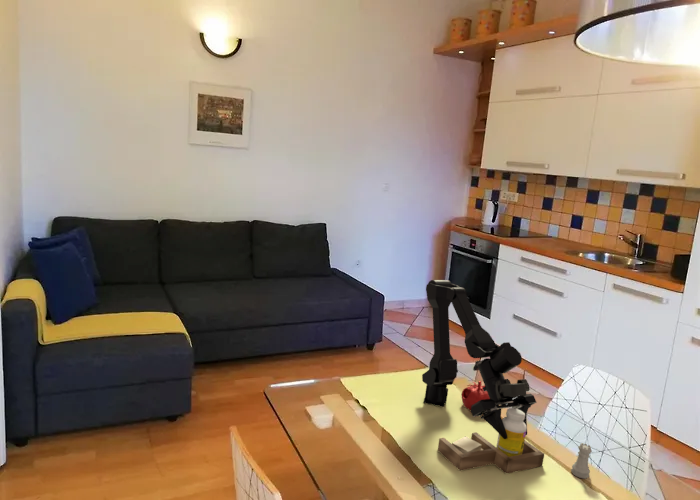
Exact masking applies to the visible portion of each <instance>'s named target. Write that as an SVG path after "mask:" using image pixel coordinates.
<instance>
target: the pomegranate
mask: <svg viewBox="0 0 700 500" xmlns="http://www.w3.org/2000/svg"><path fill="white" fill-rule="evenodd" d="M482 384H483V383H482V381H481V380H478V382H477V383H476V382H475V381H473V384H471V383H470V384H468V385H466V386H467V387H465V388H464V389H463V390H462V392H461V400H462V404H463V406H464V408H466V409H467V410H469V411H470V410H471V406H472V405H473V404H475V403H477V402H478V401H480V400H484V399H490V398H489V395H488V393H487V391H483V387H485V385H484V384H483V385H482Z"/></svg>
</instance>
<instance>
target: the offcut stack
mask: <svg viewBox="0 0 700 500" xmlns="http://www.w3.org/2000/svg"><path fill="white" fill-rule="evenodd" d="M451 444H452V445H453V446H455V447H456V448H457V449H458V450H459V451H460V452H462V453H463V454H464V453H470V452H475V451H481V450H484V449H482V448H481V444H479V443H477V442H476V441H474V440H472V439H471V438H470V437H469V436H463V437H461V438H459V439H456V440H455V441H453V442H452V443H451Z"/></svg>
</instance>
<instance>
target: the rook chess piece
mask: <svg viewBox="0 0 700 500" xmlns="http://www.w3.org/2000/svg"><path fill="white" fill-rule="evenodd" d="M577 449H578V450H579V451H578V452H577V455H578V456H577V458H576V461H575V462H574V463H573V464H572V465H571V469H570V471H571V474H573V475H574V477H577V478H579V479H583V480H585V479H588V478H589V477H590V473H591V471H590V467H589V458H590V454H591V453H593V452H592V447H591V445H589V444H588V443H583V442H581V443H580V445H579V446H578V447H577Z"/></svg>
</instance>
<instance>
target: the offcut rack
mask: <svg viewBox="0 0 700 500" xmlns="http://www.w3.org/2000/svg"><path fill="white" fill-rule="evenodd" d="M470 439H472V440H474V441H476V442H477V443H479V444H481V448H482V449H484V450H481V451H475V452H470V453H464V454H463V453H462V452H460V451H459V450H458V449H457V448H456V447H455V446H453V445H452V443H451V442H450V441H449V440H447V439H446V438H445V437H439V439H438V444H437V445H438V447H437V451H438V453H439V454H441V455H442V456H443V457H444V458H446V460H448V462H450V463H451V464H452V465H453V466H454V467H455V468H456V469H457V470H459V471H466V470H470V469H476V468H479V467H480V468H481V467H485V466H491V465H494V466H495V467H497V468H498V469H499V470H501V471H502V472H503V473H504V474H505V475H507V474H512V473H517V472H522V471H526V470H531V469H534V468H535V469H536V468H540V467H543V464H544V463H543V462H544V460H545V459H544V458H545V453H544V452H543V451H542V450H540V449H538V447H536V446H534V445H533V444H531V443H530V442H528V441H526V440H525V441H524V447H523V452H522V454H521V455H516V456H511V457H508V456H507V455H506V454H504V453H503V452H502V451H500V450H499V449H498V448H496V447H497V446H496V445H494V444H492V443H491V442H490V441H489V440H487V439H486V438H485V437H483V436H482V435H480V434H479V433H478V432H472V433H471V438H470Z"/></svg>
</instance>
